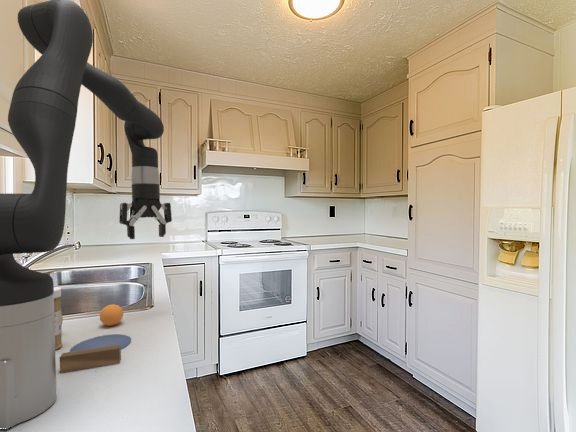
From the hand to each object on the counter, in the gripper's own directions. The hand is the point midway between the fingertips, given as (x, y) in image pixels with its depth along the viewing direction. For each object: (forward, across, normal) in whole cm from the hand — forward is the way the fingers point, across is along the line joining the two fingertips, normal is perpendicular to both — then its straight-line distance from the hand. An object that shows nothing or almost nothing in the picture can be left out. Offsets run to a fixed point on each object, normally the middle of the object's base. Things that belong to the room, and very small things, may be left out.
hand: (147, 237), depth 93 cm
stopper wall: (+22, +21, +24) cm, 39 cm away
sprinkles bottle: (+23, +25, +8) cm, 35 cm away
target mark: (+22, +16, +15) cm, 32 cm away
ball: (+20, +11, +2) cm, 23 cm away
